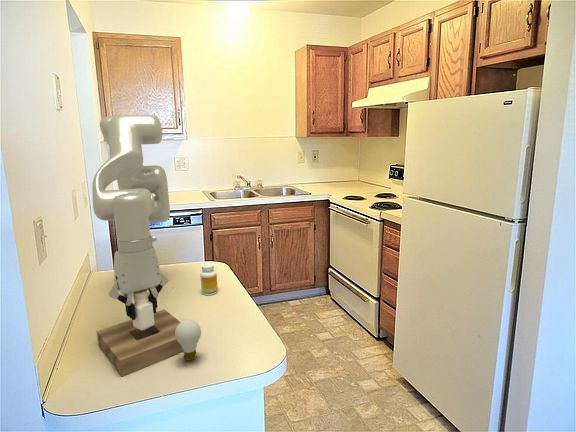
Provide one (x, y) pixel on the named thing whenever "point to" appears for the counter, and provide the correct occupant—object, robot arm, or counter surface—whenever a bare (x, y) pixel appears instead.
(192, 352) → the light bulb
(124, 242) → the robot arm
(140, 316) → the pepper shaker
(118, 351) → the socket block
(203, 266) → the supplement bottle
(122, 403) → the counter surface
